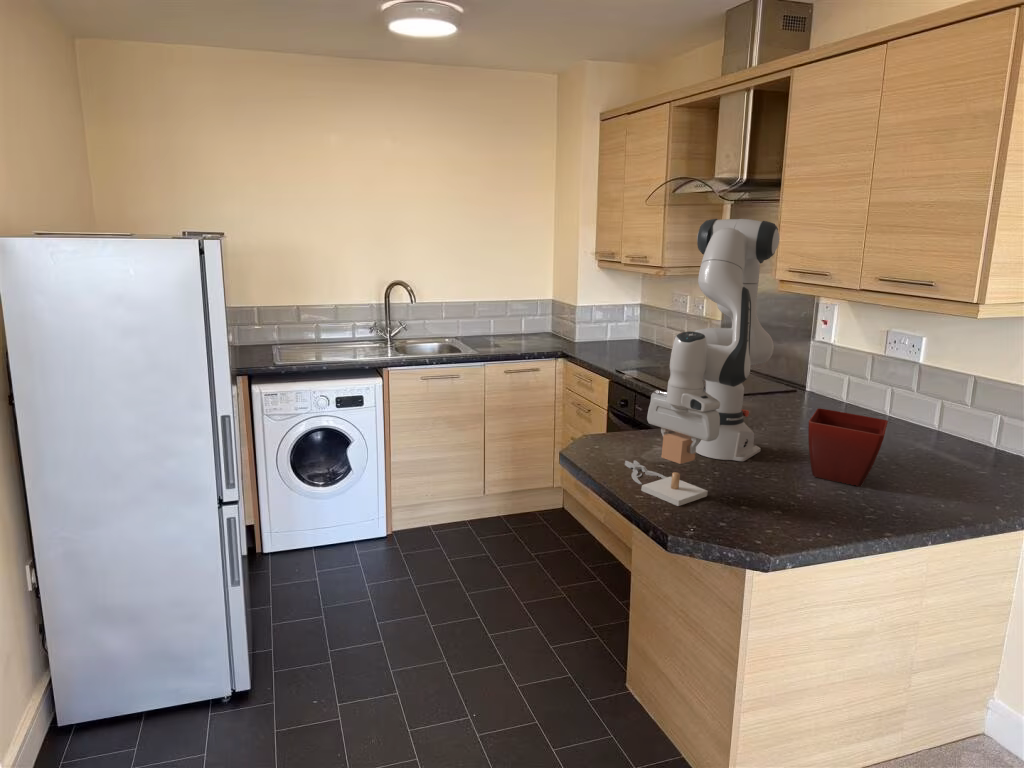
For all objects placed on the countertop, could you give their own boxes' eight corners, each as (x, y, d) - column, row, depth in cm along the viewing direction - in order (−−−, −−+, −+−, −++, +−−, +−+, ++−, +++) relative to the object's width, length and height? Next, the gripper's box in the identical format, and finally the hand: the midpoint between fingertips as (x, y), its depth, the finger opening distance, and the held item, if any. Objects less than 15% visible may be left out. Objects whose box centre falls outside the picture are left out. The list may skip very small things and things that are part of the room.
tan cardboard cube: (675, 453, 186) (678, 431, 185) (694, 459, 182) (697, 437, 180) (661, 457, 182) (663, 435, 181) (680, 463, 178) (682, 441, 177)
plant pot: (878, 474, 208) (888, 419, 204) (873, 494, 192) (884, 435, 188) (809, 460, 217) (817, 407, 213) (799, 478, 201) (807, 421, 197)
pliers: (639, 480, 189) (614, 461, 203) (639, 485, 190) (614, 466, 204) (672, 477, 193) (645, 459, 206) (671, 483, 193) (644, 464, 207)
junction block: (670, 481, 193) (672, 462, 192) (707, 496, 184) (709, 476, 183) (641, 490, 186) (643, 470, 184) (678, 506, 177) (680, 485, 175)
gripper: (644, 389, 184) (639, 440, 187) (710, 406, 169) (704, 461, 172) (660, 387, 188) (655, 437, 191) (726, 403, 173) (719, 457, 176)
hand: (679, 449), depth 182 cm, fingers closed on tan cardboard cube, 6 cm apart
